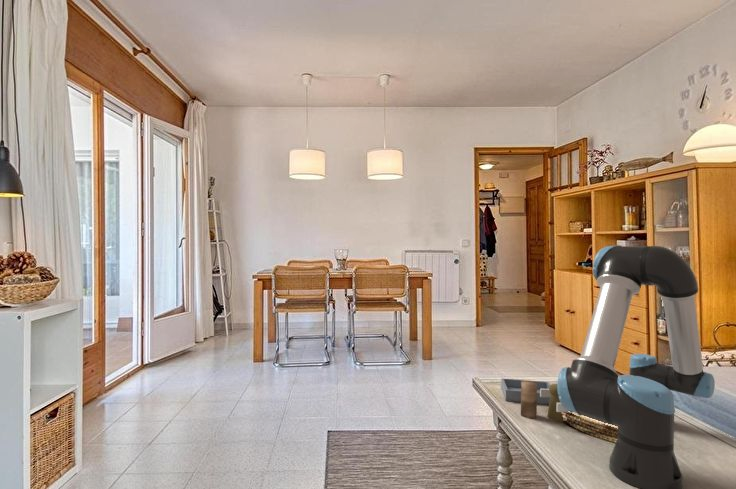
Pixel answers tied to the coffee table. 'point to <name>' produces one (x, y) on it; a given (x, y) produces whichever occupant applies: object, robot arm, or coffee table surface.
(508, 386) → the tote
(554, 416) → the cork
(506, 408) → the coffee table surface
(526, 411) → the walnut cylinder
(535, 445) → the coffee table surface
